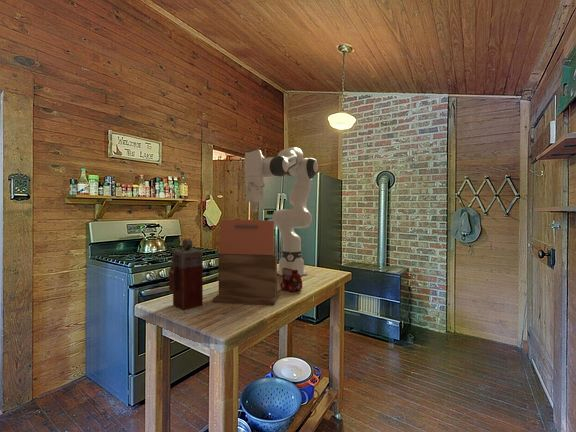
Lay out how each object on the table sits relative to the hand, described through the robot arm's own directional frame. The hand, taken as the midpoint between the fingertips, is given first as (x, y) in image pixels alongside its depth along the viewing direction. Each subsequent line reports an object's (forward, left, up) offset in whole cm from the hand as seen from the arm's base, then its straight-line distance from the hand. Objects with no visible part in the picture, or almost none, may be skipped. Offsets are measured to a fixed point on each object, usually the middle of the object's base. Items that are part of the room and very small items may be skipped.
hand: (255, 211), depth 149 cm
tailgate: (+14, -1, -19) cm, 23 cm away
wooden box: (+14, -1, -39) cm, 41 cm away
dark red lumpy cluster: (-4, +17, -39) cm, 43 cm away
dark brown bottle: (+26, -24, -39) cm, 52 cm away
